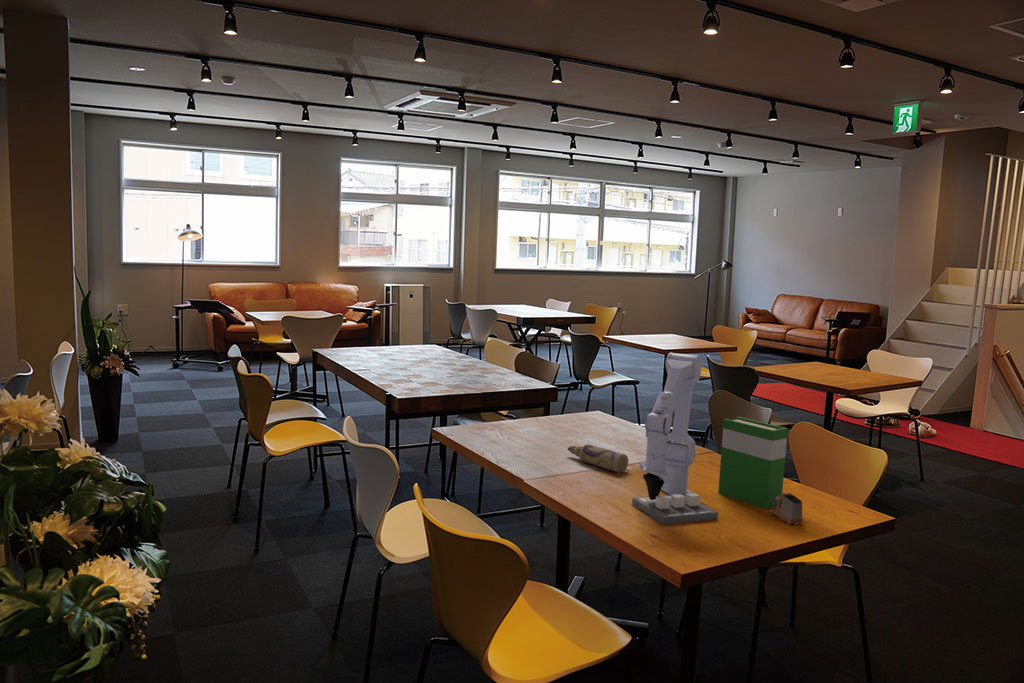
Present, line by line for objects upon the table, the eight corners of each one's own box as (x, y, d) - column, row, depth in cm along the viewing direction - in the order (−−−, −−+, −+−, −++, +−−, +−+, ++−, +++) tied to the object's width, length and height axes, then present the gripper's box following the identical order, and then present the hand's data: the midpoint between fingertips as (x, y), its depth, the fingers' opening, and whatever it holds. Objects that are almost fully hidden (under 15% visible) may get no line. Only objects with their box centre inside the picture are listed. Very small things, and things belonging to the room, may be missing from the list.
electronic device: (781, 512, 215) (783, 488, 214) (803, 524, 206) (805, 499, 205) (768, 513, 213) (770, 489, 212) (790, 526, 204) (792, 500, 203)
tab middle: (670, 505, 211) (671, 494, 210) (679, 504, 212) (680, 494, 211) (675, 507, 208) (675, 497, 208) (684, 507, 209) (684, 496, 209)
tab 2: (685, 503, 212) (685, 493, 212) (693, 502, 213) (694, 493, 213) (690, 506, 210) (690, 496, 210) (698, 505, 211) (699, 495, 211)
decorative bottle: (629, 471, 251) (630, 453, 250) (614, 475, 246) (616, 456, 245) (576, 454, 270) (577, 436, 269) (561, 457, 265) (562, 439, 265)
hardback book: (718, 492, 231) (723, 418, 228) (732, 489, 235) (738, 416, 233) (766, 509, 217) (773, 431, 214) (781, 505, 221) (787, 428, 219)
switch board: (632, 504, 216) (632, 497, 216) (684, 499, 223) (684, 493, 222) (662, 524, 201) (663, 517, 200) (717, 519, 207) (718, 511, 207)
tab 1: (655, 506, 209) (656, 496, 209) (664, 505, 210) (665, 495, 210) (660, 509, 207) (660, 499, 206) (669, 508, 208) (669, 498, 207)
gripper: (631, 448, 217) (629, 492, 218) (657, 461, 203) (654, 508, 205) (652, 446, 219) (649, 490, 221) (679, 460, 206) (676, 506, 207)
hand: (653, 499), depth 213 cm, fingers closed
